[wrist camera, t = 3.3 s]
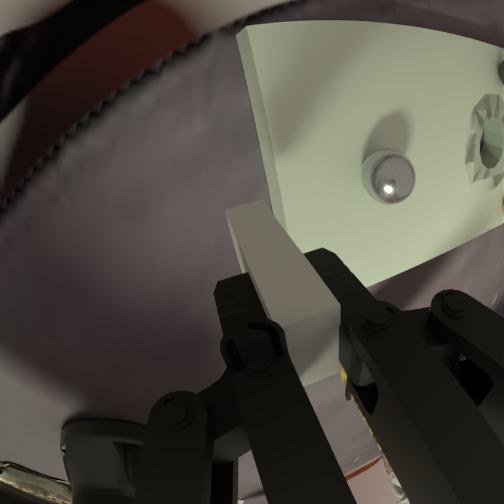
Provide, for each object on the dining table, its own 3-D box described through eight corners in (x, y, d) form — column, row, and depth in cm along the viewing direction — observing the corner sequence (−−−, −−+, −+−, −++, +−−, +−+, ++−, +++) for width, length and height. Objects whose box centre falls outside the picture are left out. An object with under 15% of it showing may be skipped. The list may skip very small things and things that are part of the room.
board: (287, 292, 23) (299, 313, 21) (235, 35, 13) (246, 25, 11) (501, 206, 26) (516, 215, 24) (504, 53, 16) (523, 56, 14)
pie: (114, 491, 39) (116, 512, 35) (79, 506, 46) (80, 521, 42) (-22, 442, 26) (-26, 465, 21) (-19, 469, 32) (-21, 486, 28)
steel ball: (352, 198, 17) (383, 220, 15) (348, 147, 16) (382, 161, 13) (393, 187, 18) (425, 206, 15) (391, 139, 16) (427, 151, 13)
